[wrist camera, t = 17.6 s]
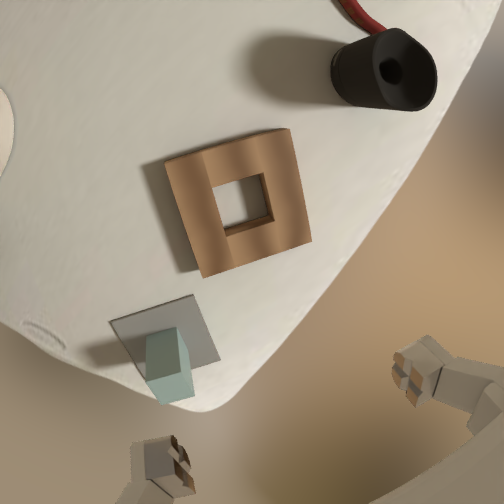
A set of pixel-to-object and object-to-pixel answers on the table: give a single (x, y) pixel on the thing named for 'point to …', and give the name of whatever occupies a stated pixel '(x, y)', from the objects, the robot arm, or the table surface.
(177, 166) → the plug dock
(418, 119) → the table surface
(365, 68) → the pen holder
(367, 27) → the pliers
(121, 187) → the table surface
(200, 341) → the rubber mat
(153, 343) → the square plug
